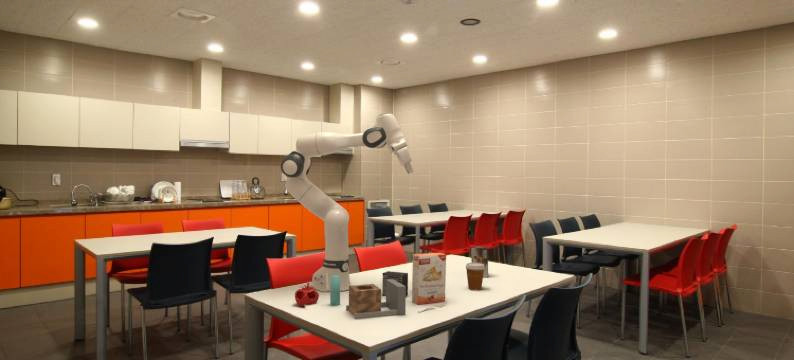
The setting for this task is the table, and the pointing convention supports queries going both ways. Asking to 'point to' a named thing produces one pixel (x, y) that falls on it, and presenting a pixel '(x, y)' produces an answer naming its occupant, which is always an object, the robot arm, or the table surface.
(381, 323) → the table surface
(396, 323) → the table surface
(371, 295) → the socket block
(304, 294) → the pomegranate
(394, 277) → the small box
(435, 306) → the fork
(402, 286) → the backstop
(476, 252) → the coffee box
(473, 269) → the disposable coffee cup
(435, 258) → the cracker box
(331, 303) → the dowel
